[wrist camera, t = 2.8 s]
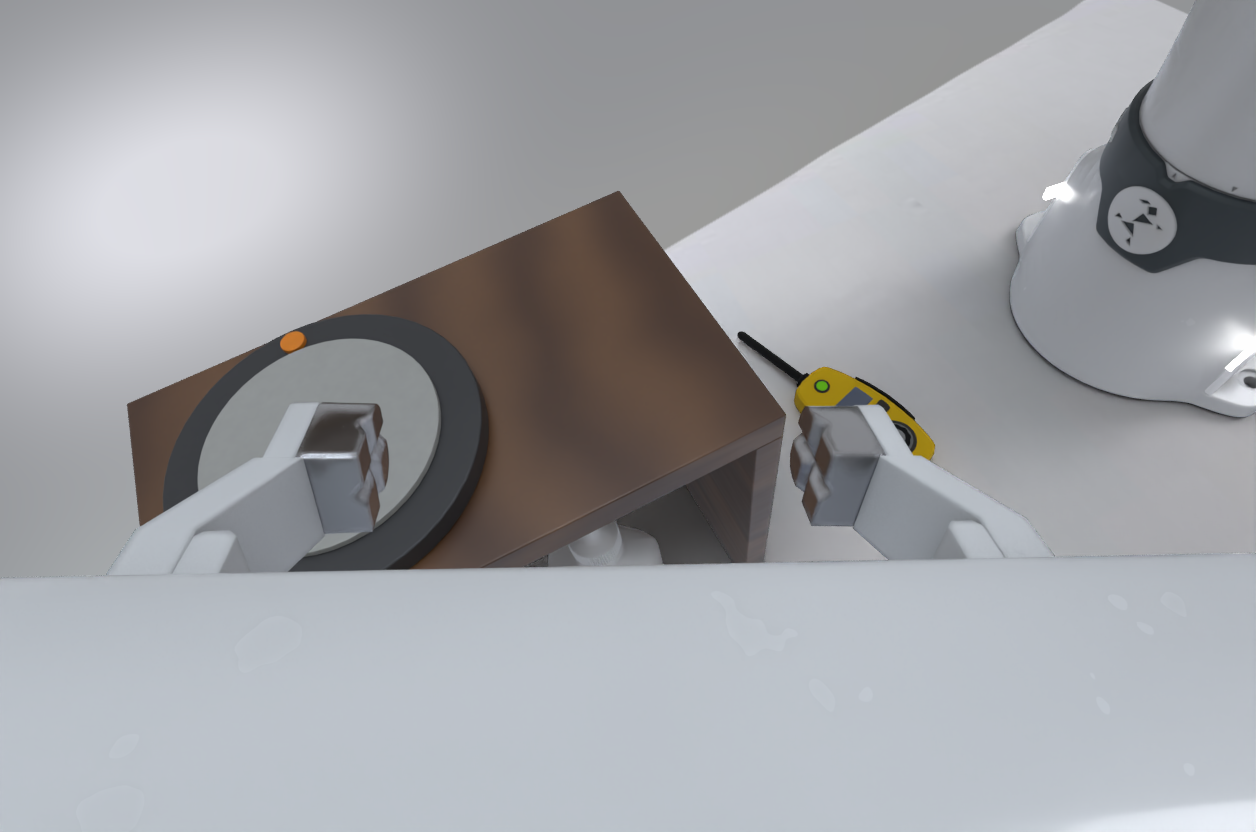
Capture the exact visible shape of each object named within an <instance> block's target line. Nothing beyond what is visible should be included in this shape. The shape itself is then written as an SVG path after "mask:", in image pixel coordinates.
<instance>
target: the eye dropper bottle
mask: <svg viewBox="0 0 1256 832" xmlns="http://www.w3.org/2000/svg"><path fill="white" fill-rule="evenodd" d="M617 565H663V561H662V557H661V553H660V549H659V546H658V543H657V540H656V539H655V538H654V537H653V536H652V535H650V534H648V533H646V532H643V531H641V530H638V529H635V528H631V527H627V526H622V525H617V523H616V521H613V522H611V523H609V524H607V525H605V526H603V527H601V528H599V529H597V530H595V531H593V532H592V533H590V534H588V535H586V536H584V537H582V538H580V539H578V540H576V541H574V542H572V543H570V544H568V545H566V546H564V547H562V548H560V549H558V550H556V551H554V552H552V553H550V554H549V555H548V567H565V566H617Z"/></svg>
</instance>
